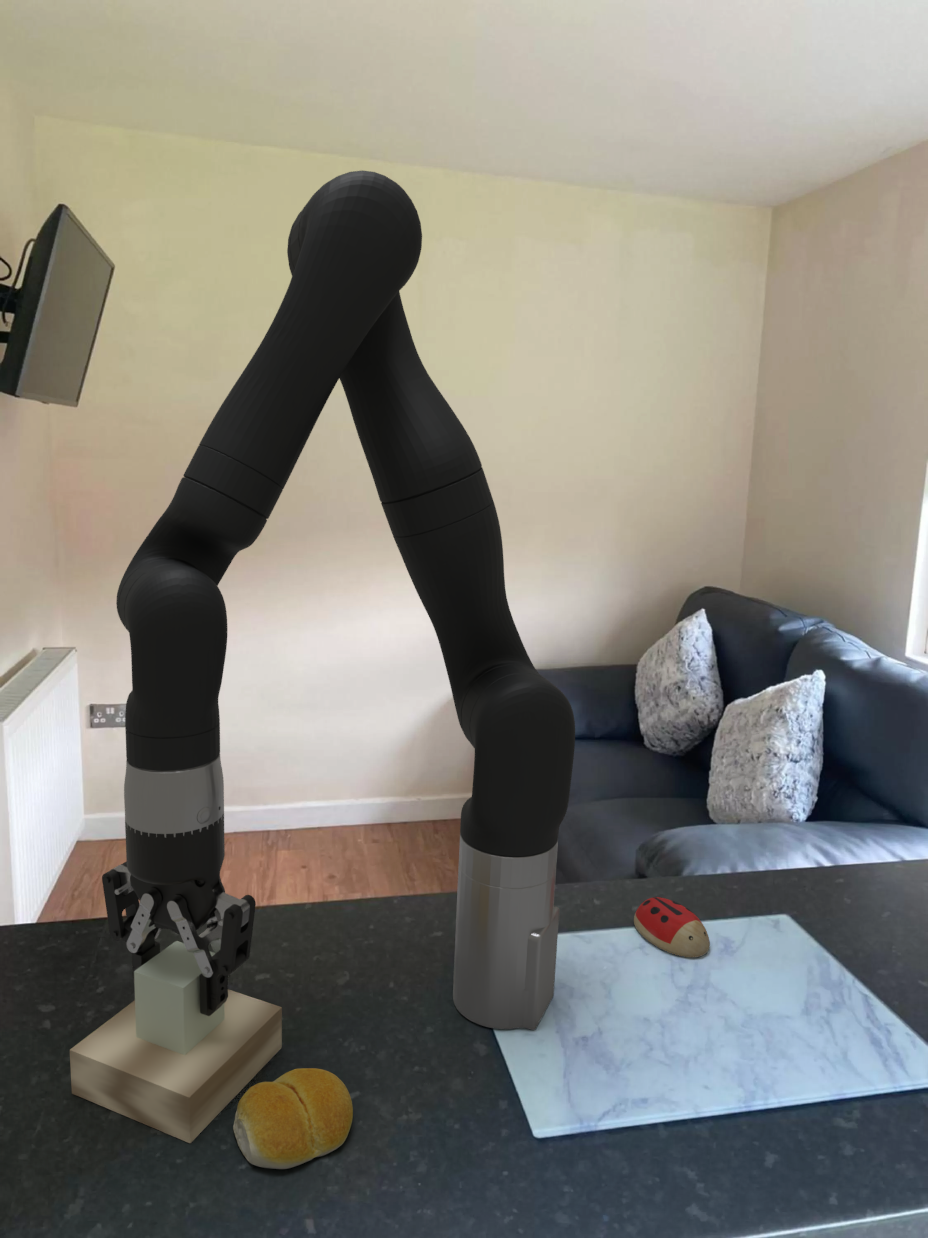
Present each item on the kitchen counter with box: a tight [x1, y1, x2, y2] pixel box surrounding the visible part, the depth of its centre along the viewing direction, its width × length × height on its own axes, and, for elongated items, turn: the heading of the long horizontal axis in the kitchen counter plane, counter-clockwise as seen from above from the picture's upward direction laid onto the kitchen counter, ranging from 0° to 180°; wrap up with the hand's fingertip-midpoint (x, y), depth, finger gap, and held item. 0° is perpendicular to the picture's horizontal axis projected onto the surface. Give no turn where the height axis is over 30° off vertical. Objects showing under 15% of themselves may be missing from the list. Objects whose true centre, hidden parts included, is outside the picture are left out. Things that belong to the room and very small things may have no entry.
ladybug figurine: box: [633, 896, 711, 958], centre depth 97 cm, size 7×10×4 cm
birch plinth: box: [69, 988, 283, 1144], centre depth 73 cm, size 12×12×4 cm
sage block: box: [133, 940, 225, 1055], centre depth 72 cm, size 5×5×6 cm
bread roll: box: [232, 1067, 354, 1170], centre depth 68 cm, size 8×9×4 cm
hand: (179, 998), depth 73 cm, fingers open, 6 cm apart
